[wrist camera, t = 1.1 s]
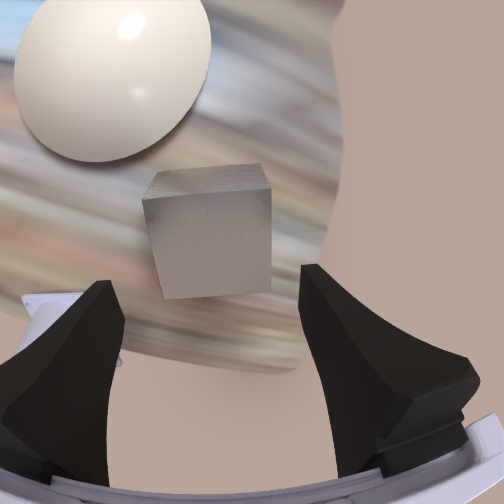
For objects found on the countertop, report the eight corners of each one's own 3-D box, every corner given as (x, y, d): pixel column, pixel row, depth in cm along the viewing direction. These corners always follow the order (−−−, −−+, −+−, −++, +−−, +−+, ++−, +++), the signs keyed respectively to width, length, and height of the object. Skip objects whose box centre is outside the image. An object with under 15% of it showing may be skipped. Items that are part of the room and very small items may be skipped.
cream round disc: (217, 144, 18) (216, 148, 17) (36, 172, 17) (29, 177, 16) (209, -48, 11) (208, -54, 10) (20, 4, 10) (12, 2, 9)
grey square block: (261, 251, 19) (271, 291, 16) (172, 257, 19) (164, 299, 16) (259, 163, 16) (271, 188, 13) (157, 172, 16) (141, 199, 13)
